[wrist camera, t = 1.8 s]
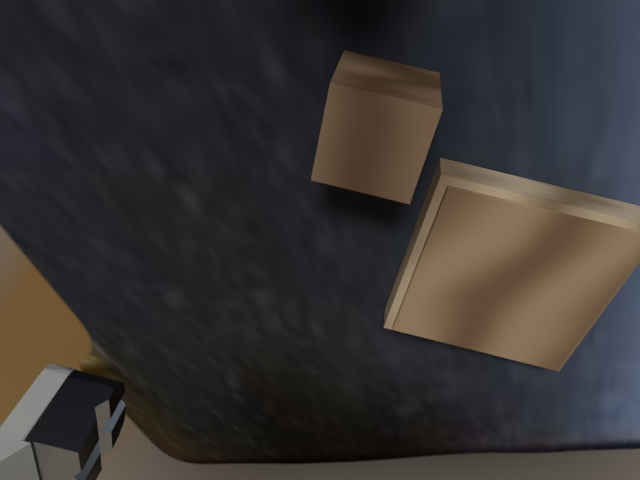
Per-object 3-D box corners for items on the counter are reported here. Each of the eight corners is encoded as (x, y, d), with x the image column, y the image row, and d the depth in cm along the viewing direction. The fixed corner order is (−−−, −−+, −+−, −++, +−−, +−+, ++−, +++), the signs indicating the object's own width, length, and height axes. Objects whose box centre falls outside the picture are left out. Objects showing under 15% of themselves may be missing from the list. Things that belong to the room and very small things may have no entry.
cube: (439, 72, 26) (442, 109, 22) (411, 158, 29) (409, 204, 25) (344, 49, 26) (330, 82, 22) (326, 137, 29) (310, 179, 25)
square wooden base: (650, 208, 28) (668, 234, 26) (552, 348, 36) (560, 377, 34) (440, 157, 29) (441, 179, 27) (385, 307, 36) (383, 333, 34)
